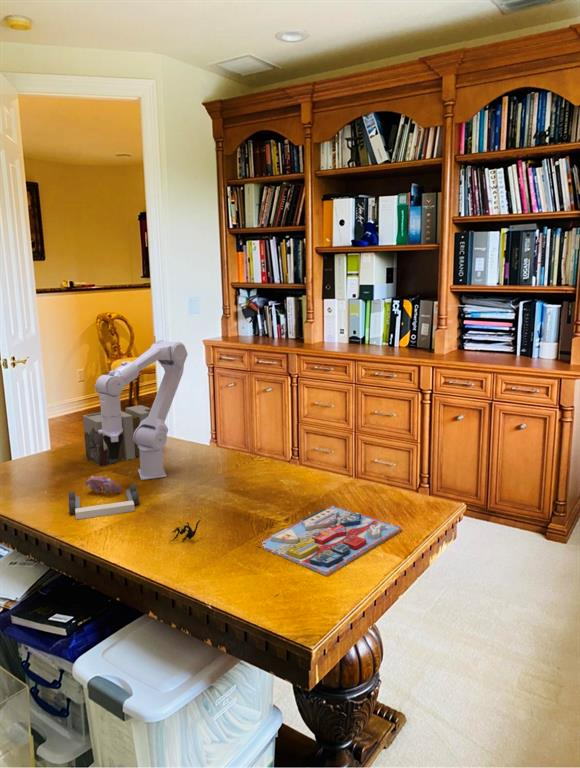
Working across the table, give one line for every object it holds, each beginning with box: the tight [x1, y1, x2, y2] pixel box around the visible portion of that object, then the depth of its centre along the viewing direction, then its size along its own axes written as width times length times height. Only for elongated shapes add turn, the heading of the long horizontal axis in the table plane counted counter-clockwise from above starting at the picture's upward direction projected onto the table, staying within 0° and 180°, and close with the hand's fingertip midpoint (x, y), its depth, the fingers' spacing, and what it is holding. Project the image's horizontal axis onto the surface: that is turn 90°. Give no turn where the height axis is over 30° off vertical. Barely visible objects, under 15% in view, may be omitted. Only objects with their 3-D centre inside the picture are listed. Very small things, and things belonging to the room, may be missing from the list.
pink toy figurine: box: [85, 475, 123, 495], centre depth 182 cm, size 10×5×7 cm, turn 68°
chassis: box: [68, 483, 140, 521], centre depth 173 cm, size 14×19×4 cm
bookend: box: [82, 404, 155, 467], centre depth 216 cm, size 16×25×16 cm, turn 130°
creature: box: [169, 519, 202, 543], centre depth 152 cm, size 8×5×8 cm
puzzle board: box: [260, 505, 403, 577], centre depth 151 cm, size 30×23×3 cm
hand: (114, 458), depth 185 cm, fingers closed
